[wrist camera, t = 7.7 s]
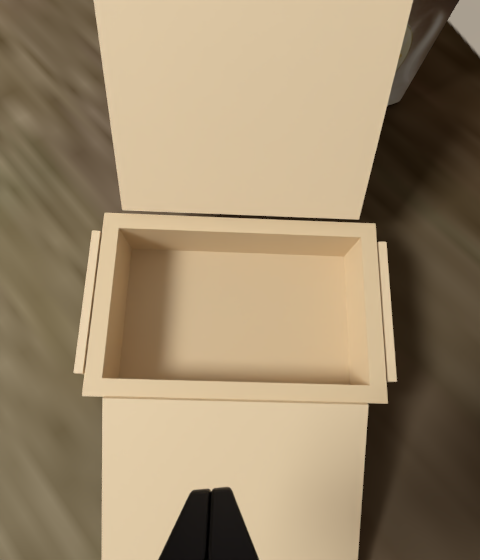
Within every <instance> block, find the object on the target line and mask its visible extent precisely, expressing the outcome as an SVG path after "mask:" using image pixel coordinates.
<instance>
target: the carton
mask: <svg viewBox="0 0 480 560" xmlns="http://www.w3.org/2000/svg"><path fill="white" fill-rule="evenodd" d="M74 373H77V374H85V375H84V383H83V391H82V396H102V397H103V410H102V560H158V559H159V557H160V555H161V553H162V550H163V548H164V546H165V544H166V542H167V540H168V538H169V536H170V534H171V532H172V529H173V527H174V525H175V523H176V521H177V519H178V517H179V515H180V513H181V510H182V508H183V506H184V504H185V502H186V500H187V498H188V496H189V494H190V492H191V491H192V490H196V489H210V490H211V491H212V489H214V488H219V487H230V488H231V489H232V491H233V494H234V496H235V499H236V501H237V504H238V507H239V509H240V512H241V514H242V517H243V519H244V522H245V525H246V527H247V530H248V532H249V535H250V537H251V540H252V542H253V545H254V548H255V550H256V553H257V555H258V558H259V560H358V549H359V535H360V521H361V506H362V492H363V478H364V463H365V449H366V435H367V420H368V406H369V405H368V404H367V403H382V404H388V396H387V382H397V375H396V362H395V349H394V336H393V323H392V309H391V296H390V283H389V270H388V257H387V244H386V242H378V243H377V237H376V223H350V222H325V221H300V220H275V219H249V218H224V217H199V216H174V215H148V214H123V213H104V221H103V229H102V233H101V231H92V236H91V244H90V252H89V259H88V267H87V275H86V282H85V290H84V298H83V305H82V313H81V321H80V328H79V336H78V344H77V351H76V359H75V367H74Z"/></svg>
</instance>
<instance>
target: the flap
mask: <svg viewBox="0 0 480 560" xmlns="http://www.w3.org/2000/svg"><path fill="white" fill-rule="evenodd" d="M412 3H413V0H94V6H95V13H96V21H97V28H98V35H99V43H100V50H101V57H102V65H103V72H104V79H105V87H106V94H107V101H108V109H109V116H110V123H111V131H112V138H113V145H114V153H115V160H116V167H117V175H118V182H119V189H120V197H121V204H122V210H131V211H156V212H181V213H206V214H231V215H256V216H281V217H306V218H331V219H357V220H359V217H360V213H361V209H362V205H363V201H364V197H365V193H366V189H367V185H368V181H369V177H370V173H371V169H372V165H373V161H374V157H375V153H376V149H377V145H378V140H379V136H380V132H381V128H382V124H383V120H384V116H385V112H386V108H387V104H388V100H389V96H390V92H391V88H392V84H393V80H394V76H395V72H396V68H397V64H398V59H399V55H400V51H401V47H402V43H403V39H404V35H405V31H406V27H407V23H408V19H409V15H410V11H411V7H412Z"/></svg>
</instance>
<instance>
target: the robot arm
mask: <svg viewBox="0 0 480 560" xmlns="http://www.w3.org/2000/svg"><path fill="white" fill-rule="evenodd" d="M158 560H259V558H258V555H257V553H256V550H255V548H254V545H253V542H252V540H251V537H250V535H249V532H248V530H247V527H246V525H245V522H244V519H243V517H242V514H241V512H240V509H239V507H238V504H237V501H236V499H235V496H234V494H233V491H232V489H231V488H230V487H219V488H214V489H212V491H211V490H210V489H196V490H192V491H191V492H190V494H189V496H188V498H187V500H186V502H185V504H184V506H183V508H182V510H181V513H180V515H179V517H178V519H177V521H176V523H175V525H174V527H173V529H172V532H171V534H170V536H169V538H168V540H167V542H166V544H165V546H164V548H163V550H162V553H161V555H160V557H159V559H158Z"/></svg>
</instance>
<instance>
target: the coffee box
mask: <svg viewBox="0 0 480 560" xmlns="http://www.w3.org/2000/svg"><path fill="white" fill-rule="evenodd" d="M458 1H459V0H413V3H412V7H411V11H410V15H409V19H408V23H407V27H406V31H405V35H404V39H403V43H402V47H401V51H400V55H399V59H398V64H397V68H396V72H395V76H394V80H393V84H392V88H391V92H390V96H389V100H388V104H387V106H388V105H391V104H394V103H397V102H399V101H400V100H401V98H402V97H403V95H404V93H405V91H406V90H407V88H408V86H409V85H410V83H411V81H412V79H413V78H414V76H415V74H416V73H417V71H418V69H419V68H420V66H421V64H422V62H423V61H424V59H425V57H426V56H427V54H428V52H429V51H430V49H431V47H432V46H433V44H434V42H435V40H436V39H437V37H438V36H439V34H440V32H441V30H442V29H443V27H444V25H445V24H446V22H447V20H448V18H449V17H450V15H451V13H452V11H453V10H454V8H455V6H456V5H457V3H458Z"/></svg>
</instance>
